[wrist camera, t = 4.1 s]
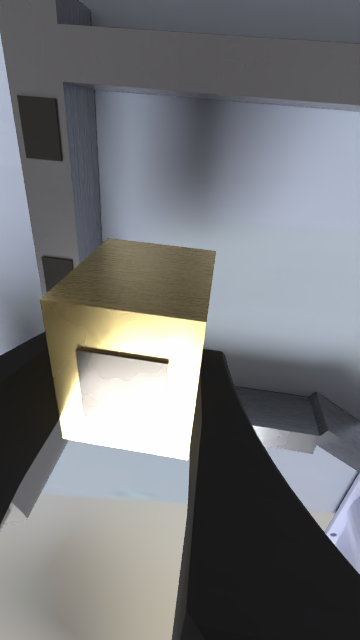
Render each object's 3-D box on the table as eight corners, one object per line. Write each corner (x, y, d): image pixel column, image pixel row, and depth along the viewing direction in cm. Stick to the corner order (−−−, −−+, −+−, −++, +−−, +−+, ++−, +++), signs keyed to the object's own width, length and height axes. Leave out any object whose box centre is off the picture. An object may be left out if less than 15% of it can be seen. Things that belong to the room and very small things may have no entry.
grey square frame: (356, 434, 22) (374, 477, 19) (81, 390, 23) (62, 425, 20) (566, 38, 11) (669, 11, 8) (40, 5, 13) (-11, -26, 10)
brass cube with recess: (200, 360, 14) (187, 462, 10) (112, 347, 15) (61, 441, 10) (216, 250, 12) (206, 324, 7) (108, 238, 12) (37, 301, 8)
